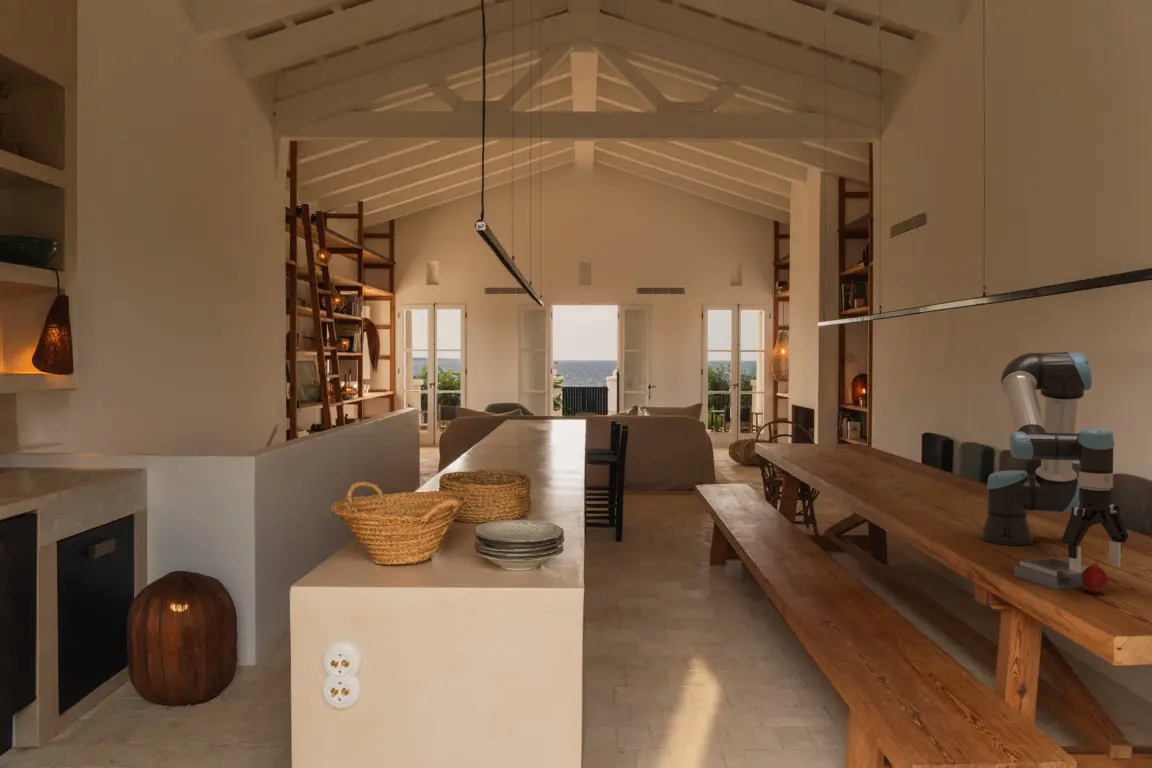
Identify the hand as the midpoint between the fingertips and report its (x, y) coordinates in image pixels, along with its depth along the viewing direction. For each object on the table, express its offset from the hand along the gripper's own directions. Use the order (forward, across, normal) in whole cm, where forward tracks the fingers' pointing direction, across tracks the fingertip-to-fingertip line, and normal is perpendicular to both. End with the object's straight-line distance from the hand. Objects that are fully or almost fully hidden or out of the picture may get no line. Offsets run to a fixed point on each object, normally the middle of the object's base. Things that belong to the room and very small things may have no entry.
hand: (1094, 568), depth 208 cm
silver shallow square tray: (+6, 0, +12) cm, 14 cm away
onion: (+7, 0, 0) cm, 7 cm away
